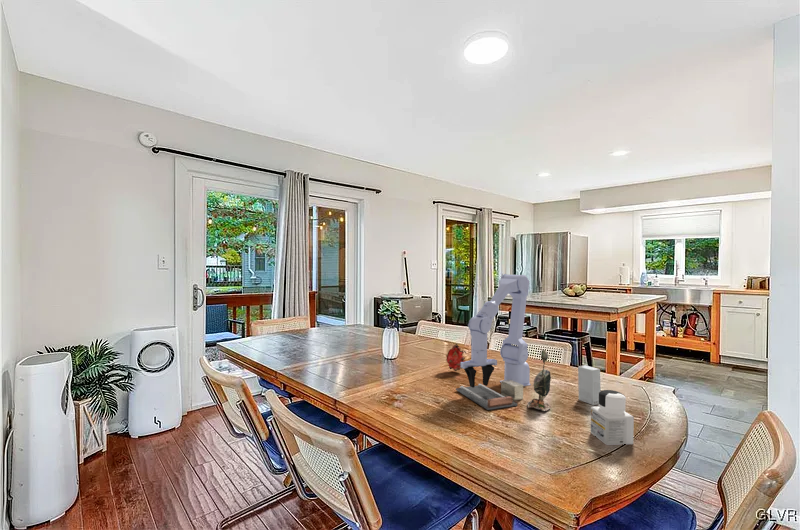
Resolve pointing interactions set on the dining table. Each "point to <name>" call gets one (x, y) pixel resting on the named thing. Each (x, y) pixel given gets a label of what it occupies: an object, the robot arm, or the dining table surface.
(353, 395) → the dining table surface
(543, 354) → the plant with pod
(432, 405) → the dining table surface
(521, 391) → the block
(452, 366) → the dragon fruit
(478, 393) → the rail guide
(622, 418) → the container
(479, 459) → the dining table surface
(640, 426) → the dining table surface
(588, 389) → the skincare box
